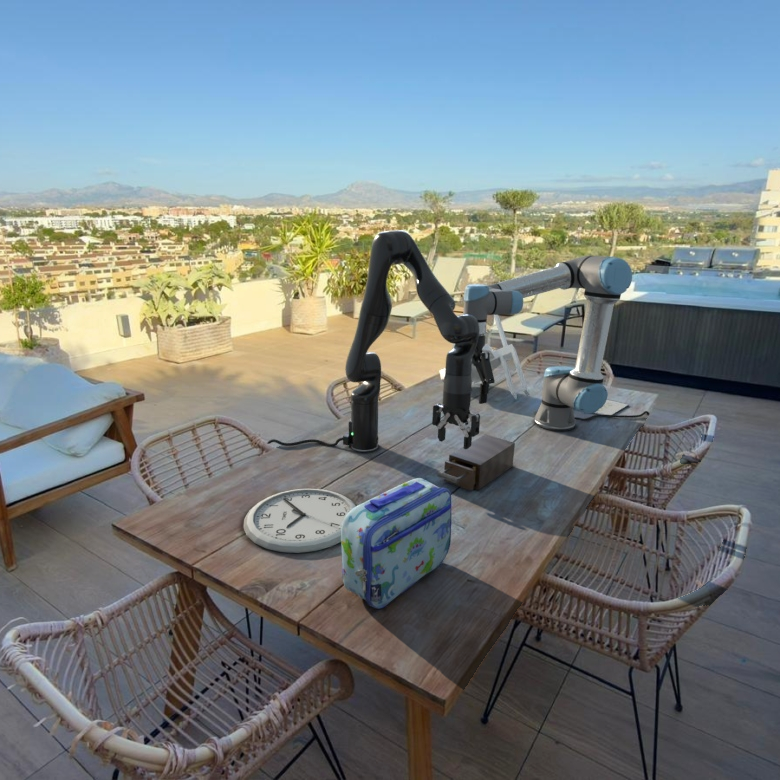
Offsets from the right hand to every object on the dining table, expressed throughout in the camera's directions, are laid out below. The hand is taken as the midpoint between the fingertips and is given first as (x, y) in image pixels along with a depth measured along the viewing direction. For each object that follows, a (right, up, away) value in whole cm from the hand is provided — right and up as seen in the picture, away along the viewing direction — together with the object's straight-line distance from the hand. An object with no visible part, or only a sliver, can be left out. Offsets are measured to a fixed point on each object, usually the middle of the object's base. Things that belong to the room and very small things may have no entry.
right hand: (469, 397), depth 173 cm
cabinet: (+2, -23, -10) cm, 25 cm away
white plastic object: (+15, +1, +70) cm, 72 cm away
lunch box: (-25, -39, -60) cm, 76 cm away
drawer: (-2, -24, -15) cm, 28 cm away
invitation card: (+65, -5, +53) cm, 84 cm away
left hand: (-8, -13, -27) cm, 31 cm away
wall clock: (-49, -31, -37) cm, 69 cm away
